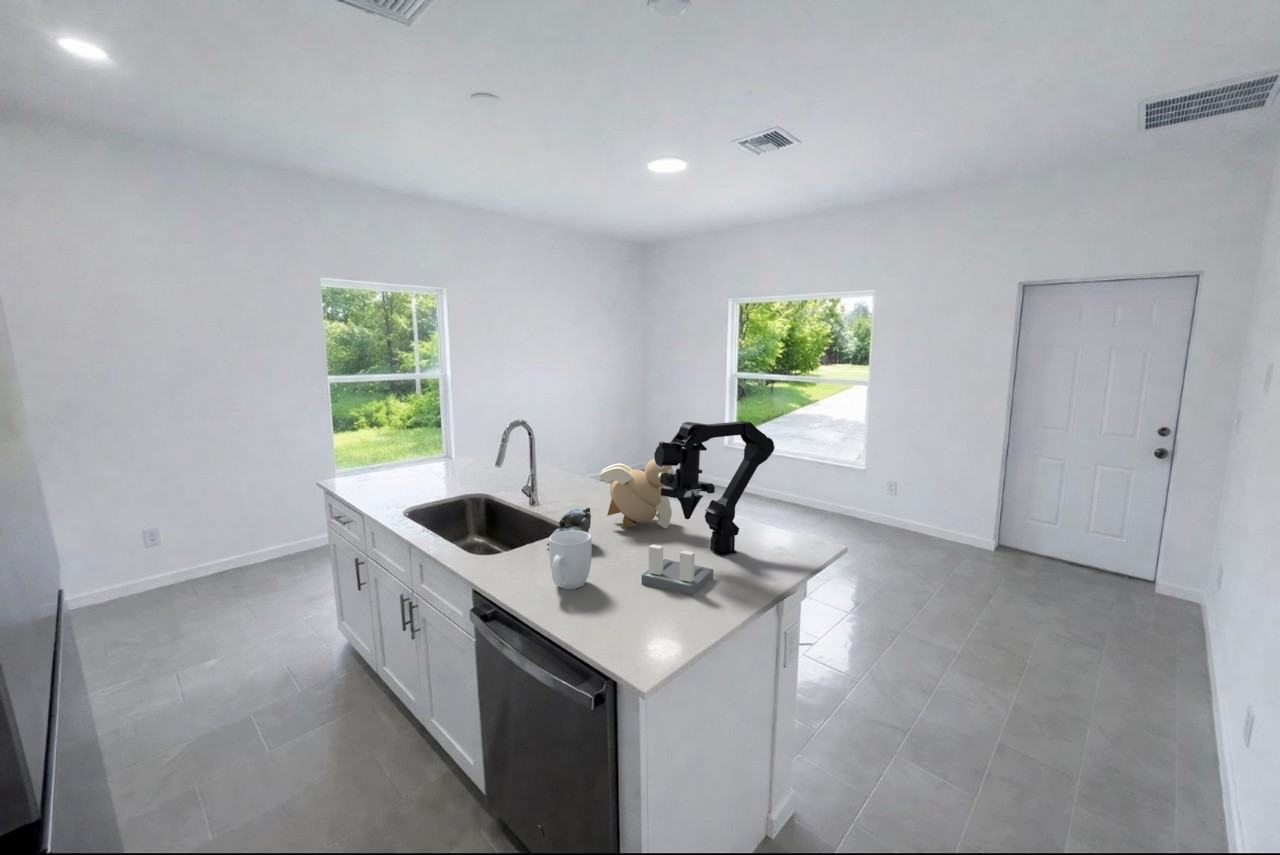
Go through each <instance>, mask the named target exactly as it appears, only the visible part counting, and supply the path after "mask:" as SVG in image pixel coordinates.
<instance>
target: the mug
mask: <svg viewBox="0 0 1280 855" xmlns="http://www.w3.org/2000/svg"><path fill="white" fill-rule="evenodd" d="M552 534H553V533H552ZM552 534H551V535H550V536H549V539H548V540H549V542H548V543H549V546H548V548H549V550H548V552H549V563H550V564H549V565H550V570H551V578H552V581H553V583H554V585H556V586H557V587H559V588H561V589H563V588H564V589H563V590H576V588H577V589H580V588H581V586H582V587H583V586H584V585H585V583H586V581H587V580H588V578H589V574H590V571H591V565H592V556H593V555H592V554H593V552H592V551H593V550H592V547H593V546H592V535H591V534H590V533H589V532H588V533H587V532H584V531H576V530H569V531H561V532H557V533H555V534H553V535H552ZM579 587H580V588H579Z"/></svg>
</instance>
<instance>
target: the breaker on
mask: <svg viewBox="0 0 1280 855" xmlns="http://www.w3.org/2000/svg"><path fill="white" fill-rule="evenodd" d="M695 554H696V553H695V552H694V551H689V550H682V551H680V552H679V562H680V580H683V581H688V582H692V581H693V580H694V565H695Z"/></svg>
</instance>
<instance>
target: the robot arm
mask: <svg viewBox="0 0 1280 855" xmlns="http://www.w3.org/2000/svg"><path fill="white" fill-rule="evenodd" d="M732 436H733V437H734V436H740V439H741V440H742V441H743V443H745V446H744V448H743V458H742V461H741V463H740V464H739V466H738V468H737V470H736V472H735V473H734V474H733V476H732V478H731V480H730V482H729V484H728V485H727V487H726V488H725V491H724V492H723V494H722V496H721V497H720V498H719V499H718V500H715V499H712V500H711V501H710V503H709V504H708V506H707V508H706V509H704V511H705V514H704V519H705V522H706V524H707V525H708V527H709V530H712V531H711V536H710V547H709V548H710V549H711V550H712V552H713V551H714V552H715V553H714V552H713V553H714V554H715V555H717V554H718V555H722V556H727V555H726V554H728V555H734V554H733V553H735V554H738V551H737V550H736V549H735V548H736V547H735V546H736V543H735V542H736V539H735V538H736V536H738V534H739V531H740V527H739V526H738V525H737V524H736V523H734V519H735V517H736V506H737V504H738V502H739V500H740V498H741V497H742V495H743V493H744V491H745V489H746V488H747V486H748V485H749V483H750V481H751V479H752V478H753V476H754V474H755V472H756V470H757V469H758V467H759V466H760V465H762V464H763V463H765V462H766V461H767V460H768V459H769V458H770V457H771V456H772V454H773V452H774V450H775V443H774V440H773V439H772V438H770V437H768V436H767V435H766V433H763V432H762V431H761V430H759V429H758V428H757V427H756V426H755V425H754V424H753V423H752V422H751V421H748V420H747V421H746V420H739V421H730V422H729V421H728V422H720V423H709V424H708V423H701V422H700V423H699V422H693V421H685V422H682V424H681V426H680V427H679V430H678V431H677V433H676V434H675V435H674V436H673V438H672V439H671V440H670V442H665V441H659V442H658V446H657V447H656V449H655V451H654V455H653V456H654V457H653V459H655V462H656V464H657V465H658V466H672V467H675V466H676V467H677V466H679V468H678V467H677V468H676V469H675V472H674V474H673V475H669V473H662V474H661V477H660V482H661V484H664V486H663V487H660V488H661V496H666V497H668V498H673V499H677V500H678V501H679V503H680V506H681V510H682V513H683V516H684V519H685V520H689V519H691V516H692V515H693V513H694V511H695V509H696V507H697V505H698V504H699V503H700V501H701V499H702V498H703V497H704V495H701V494H700V492H704V493H705V492H706V493H707V494H715V492H716V491H715V490H716V487H715V485H714V484H713V483H712V482H704V481H699V480H700V479H699V478H700V474H703V469H700V458H701V451H707V450H708V449H707V447H706V446H705V445H704V443H705V442H708V441H710V440H711V439H714V438H724V437H732ZM710 549H709V550H710ZM711 550H710V551H711ZM718 555H717V556H718Z"/></svg>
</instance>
